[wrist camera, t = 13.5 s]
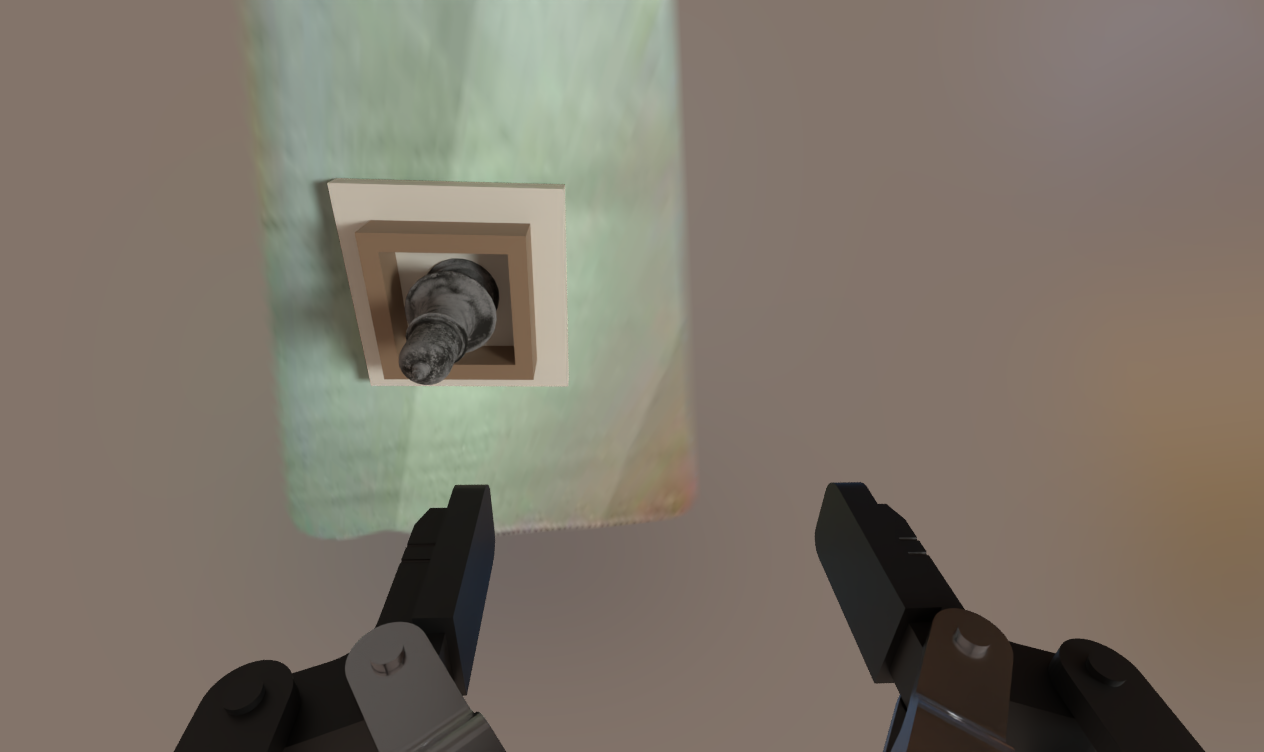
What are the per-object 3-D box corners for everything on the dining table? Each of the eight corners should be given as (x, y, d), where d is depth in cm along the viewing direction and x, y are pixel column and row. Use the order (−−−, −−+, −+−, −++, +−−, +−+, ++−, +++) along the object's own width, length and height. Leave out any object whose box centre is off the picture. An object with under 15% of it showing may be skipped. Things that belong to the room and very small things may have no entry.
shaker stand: (336, 178, 38) (306, 193, 34) (565, 184, 39) (561, 199, 35) (377, 376, 45) (357, 406, 41) (568, 376, 46) (566, 407, 42)
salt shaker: (408, 259, 39) (341, 335, 29) (493, 249, 39) (457, 321, 29) (432, 336, 42) (379, 430, 32) (511, 326, 42) (484, 418, 32)
